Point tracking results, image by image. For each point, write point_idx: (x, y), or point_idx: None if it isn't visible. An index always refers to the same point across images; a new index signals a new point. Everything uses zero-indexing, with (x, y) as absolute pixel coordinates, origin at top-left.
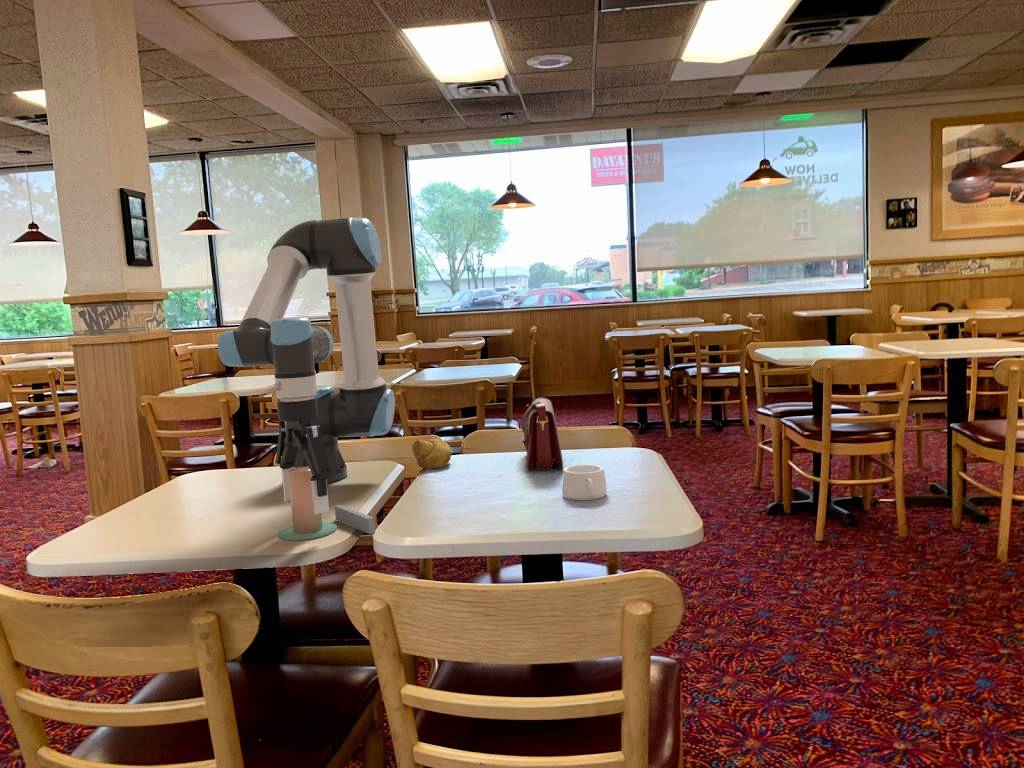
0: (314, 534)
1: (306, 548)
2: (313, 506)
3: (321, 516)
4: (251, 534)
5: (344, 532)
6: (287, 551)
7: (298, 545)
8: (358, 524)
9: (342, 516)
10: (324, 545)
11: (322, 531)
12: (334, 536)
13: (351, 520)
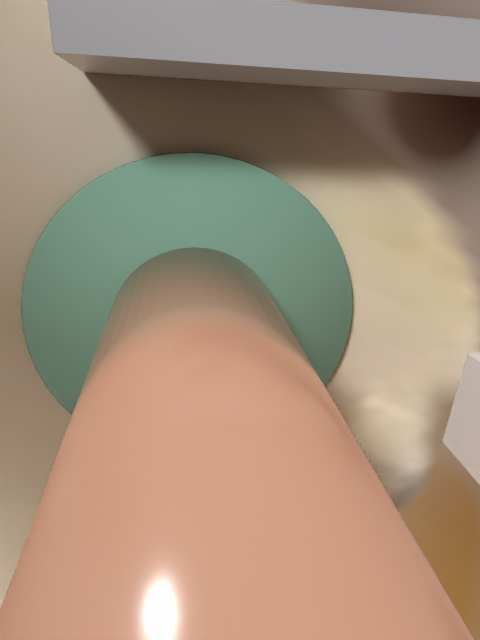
0: (308, 339)
1: (419, 420)
2: (476, 479)
3: (237, 275)
4: (12, 518)
5: (383, 186)
6: (382, 479)
7: (355, 429)
8: (444, 89)
9: (207, 72)
10: (459, 355)
11: (297, 287)
12: (392, 262)
13: (351, 82)
